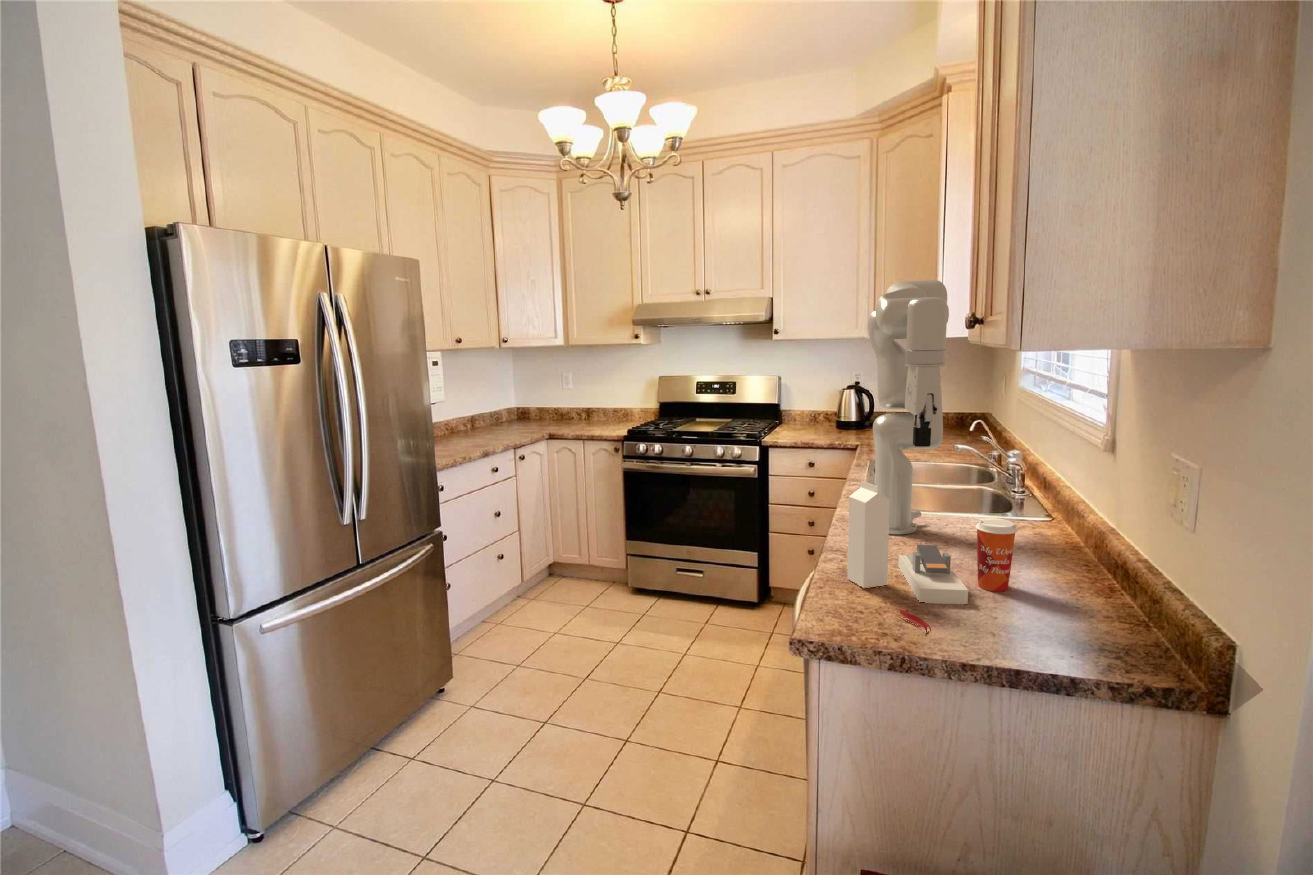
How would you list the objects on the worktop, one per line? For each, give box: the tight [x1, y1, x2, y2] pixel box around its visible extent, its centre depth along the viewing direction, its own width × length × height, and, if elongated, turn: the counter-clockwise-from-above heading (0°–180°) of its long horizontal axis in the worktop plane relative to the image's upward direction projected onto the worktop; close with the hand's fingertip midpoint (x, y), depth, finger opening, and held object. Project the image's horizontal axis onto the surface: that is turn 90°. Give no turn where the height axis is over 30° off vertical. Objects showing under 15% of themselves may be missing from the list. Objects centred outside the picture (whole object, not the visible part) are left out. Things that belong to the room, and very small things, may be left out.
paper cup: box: [974, 517, 1018, 593], centre depth 136 cm, size 8×8×14 cm
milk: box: [846, 480, 890, 587], centre depth 139 cm, size 6×6×22 cm
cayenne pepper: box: [898, 608, 931, 632], centre depth 122 cm, size 12×5×2 cm, turn 174°
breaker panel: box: [897, 551, 969, 605], centre depth 139 cm, size 20×9×7 cm, turn 171°
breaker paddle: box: [916, 544, 947, 573], centre depth 138 cm, size 9×4×1 cm, turn 171°
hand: (921, 445), depth 138 cm, fingers closed
